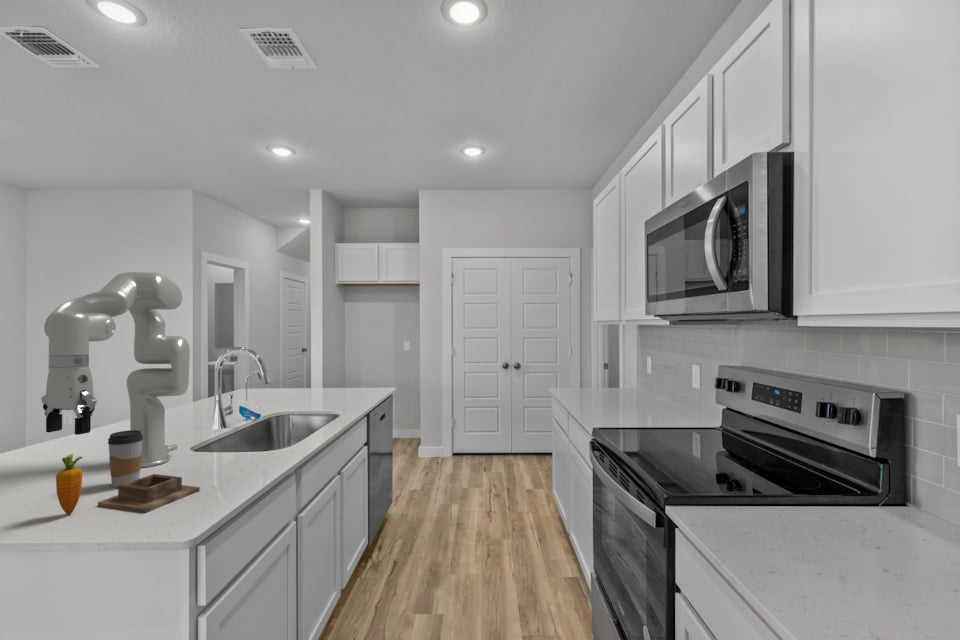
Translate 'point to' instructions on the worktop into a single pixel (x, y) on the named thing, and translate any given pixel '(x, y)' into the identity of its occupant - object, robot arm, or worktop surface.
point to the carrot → (69, 484)
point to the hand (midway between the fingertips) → (68, 432)
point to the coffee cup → (125, 456)
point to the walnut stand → (148, 493)
